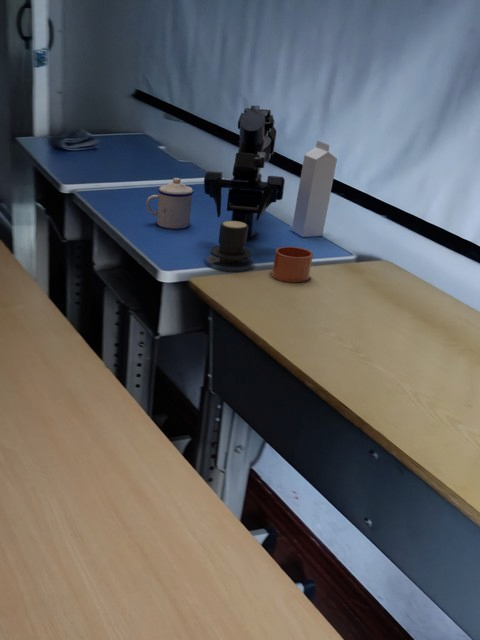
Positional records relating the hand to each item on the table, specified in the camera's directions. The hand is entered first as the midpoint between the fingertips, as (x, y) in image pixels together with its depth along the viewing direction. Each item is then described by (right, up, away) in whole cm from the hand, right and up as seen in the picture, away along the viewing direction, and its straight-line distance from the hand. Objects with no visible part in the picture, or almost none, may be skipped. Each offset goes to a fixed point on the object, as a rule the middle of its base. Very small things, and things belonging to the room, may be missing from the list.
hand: (237, 218), depth 197 cm
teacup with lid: (-14, +8, +25) cm, 30 cm away
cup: (+11, -16, -7) cm, 21 cm away
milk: (+22, +4, +22) cm, 32 cm away
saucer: (-2, -11, -1) cm, 12 cm away
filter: (-2, -11, -2) cm, 11 cm away
